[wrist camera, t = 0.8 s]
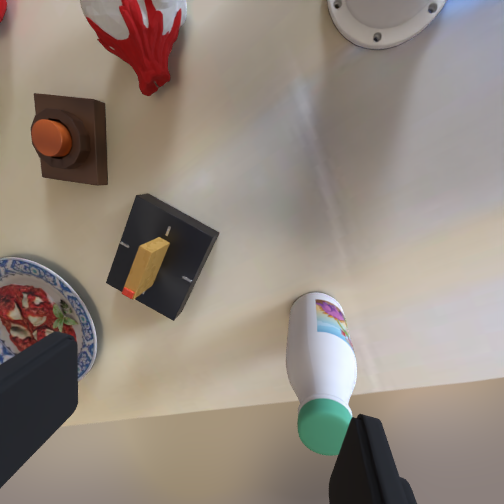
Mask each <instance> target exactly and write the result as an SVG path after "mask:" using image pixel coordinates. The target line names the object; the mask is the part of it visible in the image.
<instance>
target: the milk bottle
mask: <svg viewBox="0 0 504 504" xmlns="http://www.w3.org/2000/svg"><path fill="white" fill-rule="evenodd" d="M286 368H287V374H288V378H289V381H290V384H291V386H292V388H293V390H294V392H295V393H296V395H297V397H298V399H299V401H300V405H299V408H298V433H299V437H300V439H301V441H302V442H303V443H304V445H305V446H306V447H307V448H309V449H310V450H312V451H314V452H316V453H319V454H322V455H338V454H339V452H340V449H341V446H342V443H343V440H344V437H345V435H346V432H347V429H348V426H349V423H350V420H351V418H352V412H351V409H350V408H349V406H348V402H349V398H350V396H351V394H352V392H353V389H354V387H355V383H356V377H357V366H356V359H355V354H354V350H353V346H352V342H351V338H350V334H349V331H348V327H347V323H346V320H345V316H344V313H343V310H342V308H341V306H340V304H339V303H338V302H337V301H336V300H335V299H334V298H333V297H331V296H329V295H327V294H323V293H317V292H316V293H308V294H305V295H303V296H301V297H300V298H298V299H297V300H296V301H295V302H294V304H293V306H292V308H291V311H290V317H289V327H288V337H287V349H286Z"/></svg>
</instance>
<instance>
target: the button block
mask: <svg viewBox="0 0 504 504" xmlns="http://www.w3.org/2000/svg"><path fill="white" fill-rule="evenodd" d="M34 100H35V110H36V115H35V118H34V121H33V123H32V126H31V133H32V128H33V125H34V124H35V123H36V122H37V121H38V120H41V119H46V120H51V121H56V122H60V123H62V124H63V125H64V126H65V127H66V128H67V129H68V130H69V132H70V134H71V137H72V148H71V150H70V152H69V153H68V154H67V155H66V156H63V157H54V156H46V155H44V154H42V153H40V152H39V151H38V150H37V148H36V147H35V145H34V143H33V140H32V144H33V146H34V148H35V150H36V152H37V153H38V155H39V157H40V159H41V169H42V177H44V178H51V179H57V180H64V181H71V182H78V183H84V184H91V185H108V180H107V150H106V121H105V103H103V102H100V101H97V100H94V99H85V98H75V97H66V96H56V95H46V94H36V93H34ZM31 136H32V134H31Z"/></svg>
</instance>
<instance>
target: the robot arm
mask: <svg viewBox="0 0 504 504" xmlns="http://www.w3.org/2000/svg"><path fill="white" fill-rule="evenodd" d="M446 1H447V0H327V3H328V9H329V12H330V15H331V18H332V20H333V22H334V24H335V26H336V27H337V29H338V30H339V32H340V33H341V34H342V35H343V36H344V37H345V38H346V39H348V40H349V41H351V42H352V43H354V44H355V45H358V46H361V47H364V48H369V49H386V48H391V47H394V46H397V45H400V44H402V43H404V42H406V41H408V40H410V39H412V38H413V37H415V36H416V35H417V34H419V33H420V32H421V31H423V30H424V29H425V28H426V27H427V26H428V25H429V24H430V23H431V22H432V21H433V19H434V18H435V17H436V16H437V15H438V13H439V12H440V11H441V9H442V8H443V6H444V4H445V3H446ZM336 6H338V7H339V9H335V7H336ZM429 10H430V11H431V13H429V12H428V11H429ZM375 38H376V39H377V40H378V41H377V42H375V41H374V40H373V39H375ZM77 404H78V344H77V342H76V341H75V338H74V336H72V335H69V334H66V333H62V332H58V331H55V332H52V333H51V334H49V335H47V336H46V337H44V338H42V339H41V340H39V341H38V342H36V343H34V344H33V345H31V346H30V347H28V348H26V349H25V350H23V351H21V352H20V353H18V354H17V355H15V356H13V357H12V358H10V359H9V360H7V361H5V362H4V363H2V364H0V488H1V487H2V486H3V485H4V484H5V483H6V482H7V481H8V480H9V479H10V478H11V477H12V476H13V475H14V474H15V473H16V472H17V470H18V469H19V468H20V467H21V466H22V465H23V464H24V463H25V462H26V461H27V460H28V459H29V458H30V457H31V456H32V455H33V454H34V453H35V452H36V451H37V450H38V449H39V448H40V447H41V446H42V445H43V444H44V443H45V442H46V440H48V439H49V438H50V436H51V435H52V434H53V433H54V432H55V431H56V430H57V429H58V428H59V427H60V426H61V425H62V424H63V423H64V422H65V421H66V420H67V419H68V418H69V417H70V416H71V415H72V414H73V412H74V411H75V409H76V407H77ZM329 500H330V501H329V502H330V504H417V503H416V500H415V497H414V494H413V491H412V489H411V487H410V484H409V483H408V482H407V481H406V479H404V478H401V477H399V474H398V471H397V468H396V465H395V462H394V459H393V456H392V453H391V450H390V447H389V444H388V441H387V438H386V435H385V432H384V429H383V426H382V423H381V421H380V420H379V419H377V418H373V417H370V416H366V415H362V414H359V415H358V417H357V418H354V417H352V418H351V420H350V423H349V426H348V429H347V432H346V435H345V437H344V440H343V443H342V446H341V449H340V452H339V455H338V458H337V461H336V463H335V466H334V469H333V472H332V475H331V478H330V482H329Z"/></svg>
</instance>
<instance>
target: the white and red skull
mask: <svg viewBox="0 0 504 504" xmlns="http://www.w3.org/2000/svg"><path fill="white" fill-rule="evenodd" d="M80 3H81V8H82V10H83V13H84V15H85V17H86V19H87V21H88V22H89V24H90V25H91V27H92V28H93V29H94V31H95V32H96V34H97V36H98V37H99V38H100V39H97V40H98V41H99V42H100V43H101V44H102V45H103V46H104V48H105V49H107V50H108V51H109V52H111V53H113V54H115V55H116V56H118V57H120V58H121V59H122V60H124V61H125V62H127V63H128V64H130V65H131V66H132V68H133V69H134V71H135V72H136V74H137V76H138V81H139V88H140V91H141V92H142V94H144V95H147V96H150V95H152V94H153V93H154V92H156V91H157V90H158V88H159V87H161V86H163V85H164V84H165V83H166V82H169V81H170V73H169V71H168V57H169V54H170V52H171V49H172V45H173V43H174V42H175V41H176V40H177V37H178V33H179V28H180V26H182V25H183V24H184V22H185V21H186V13H187V4H186V0H80Z"/></svg>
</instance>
